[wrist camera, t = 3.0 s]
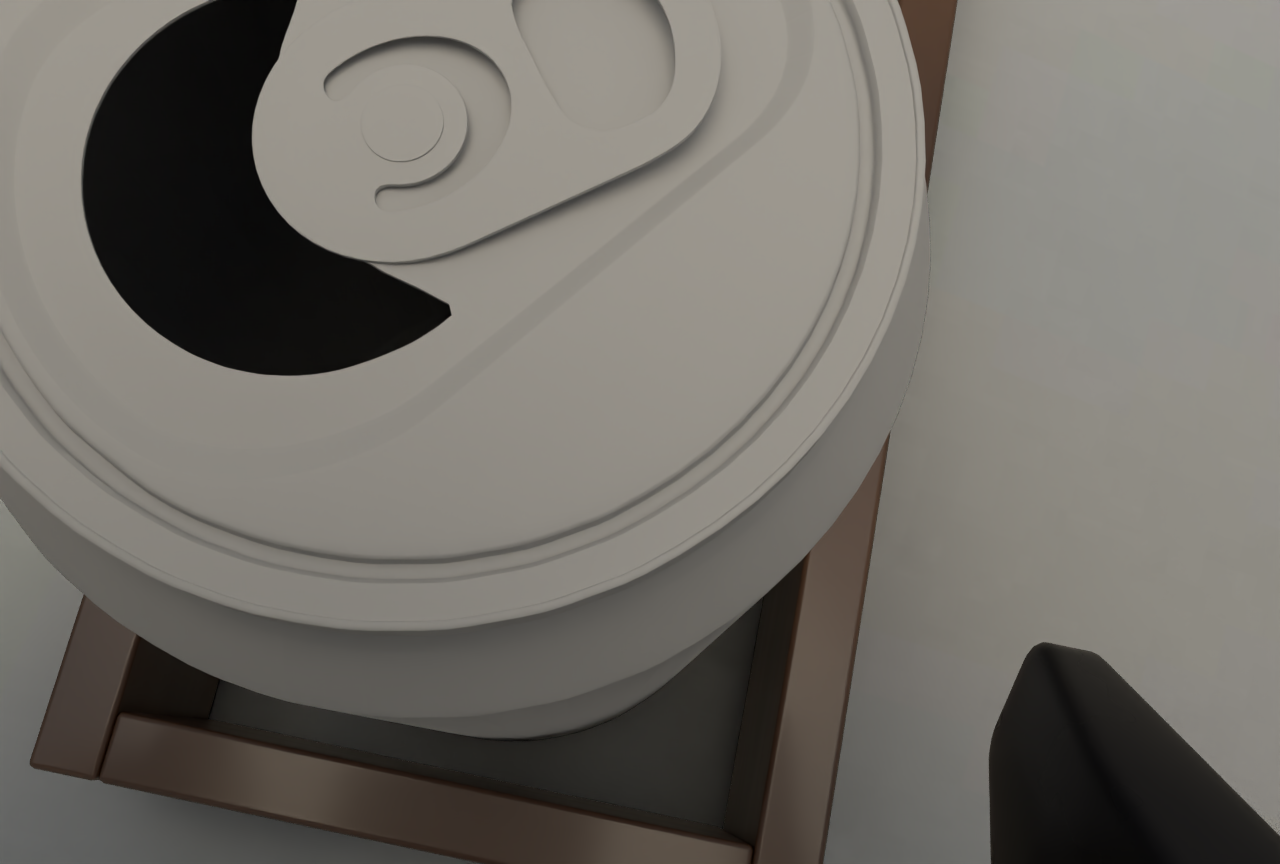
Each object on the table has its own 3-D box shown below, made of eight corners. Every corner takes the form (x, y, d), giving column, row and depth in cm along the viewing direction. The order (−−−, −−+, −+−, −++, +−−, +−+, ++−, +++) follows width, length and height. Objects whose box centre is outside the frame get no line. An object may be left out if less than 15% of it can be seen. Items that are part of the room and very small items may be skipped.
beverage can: (242, 420, 18) (-352, -156, 7) (627, 255, 19) (685, -496, 8) (406, 820, 17) (17, 957, 5) (813, 623, 18) (1223, 381, 6)
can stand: (768, 898, 17) (812, 935, 14) (136, 764, 17) (25, 766, 14) (938, -127, 21) (1004, -293, 18) (436, -228, 21) (407, -412, 18)
